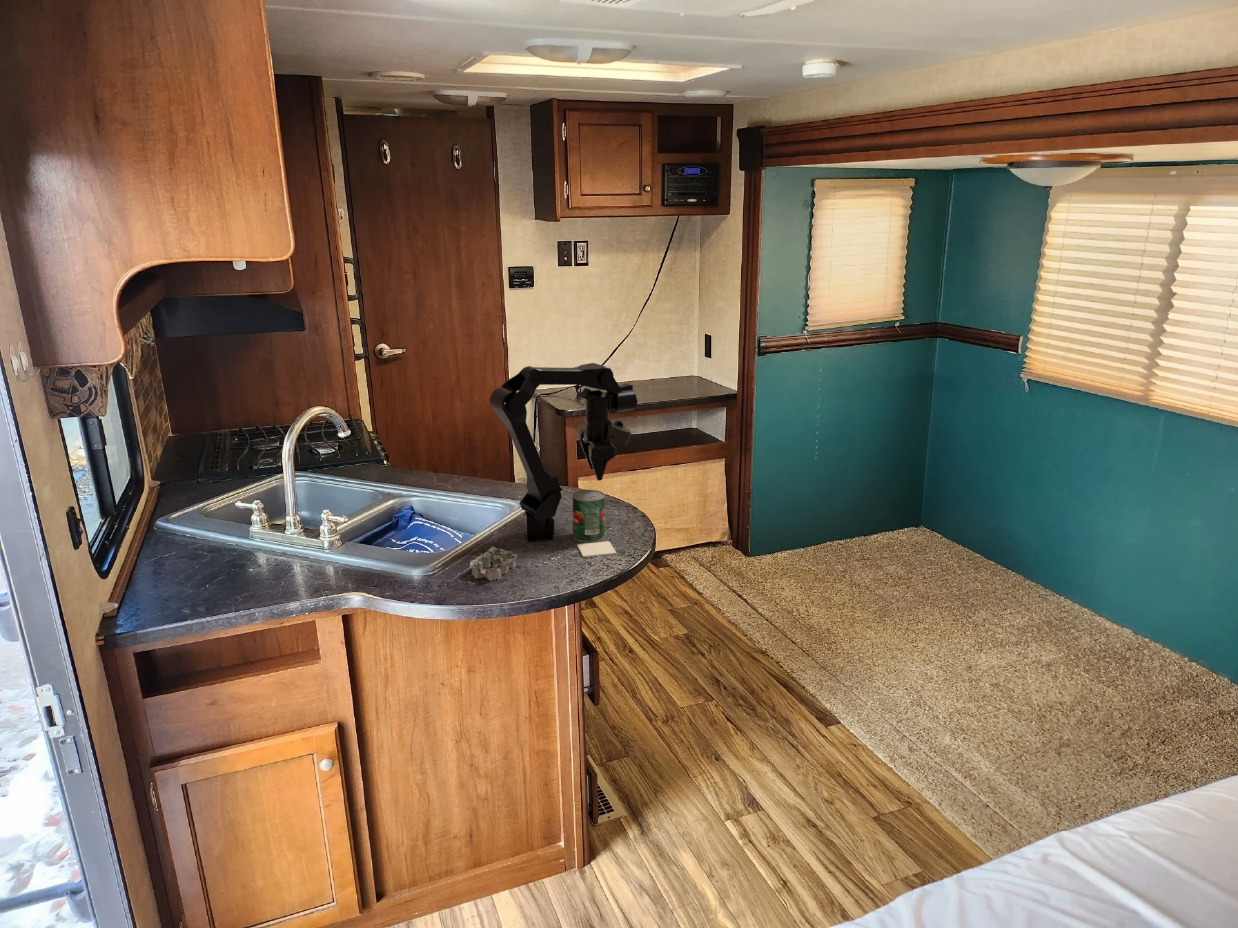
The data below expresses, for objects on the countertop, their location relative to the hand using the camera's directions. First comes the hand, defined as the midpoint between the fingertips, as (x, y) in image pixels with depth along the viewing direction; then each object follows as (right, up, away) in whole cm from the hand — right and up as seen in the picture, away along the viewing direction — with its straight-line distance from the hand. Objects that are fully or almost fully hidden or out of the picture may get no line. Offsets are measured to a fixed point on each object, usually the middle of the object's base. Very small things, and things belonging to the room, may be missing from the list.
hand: (596, 474), depth 211 cm
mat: (0, -18, -13) cm, 22 cm away
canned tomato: (-2, -15, -5) cm, 16 cm away
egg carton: (-22, -22, -24) cm, 39 cm away
